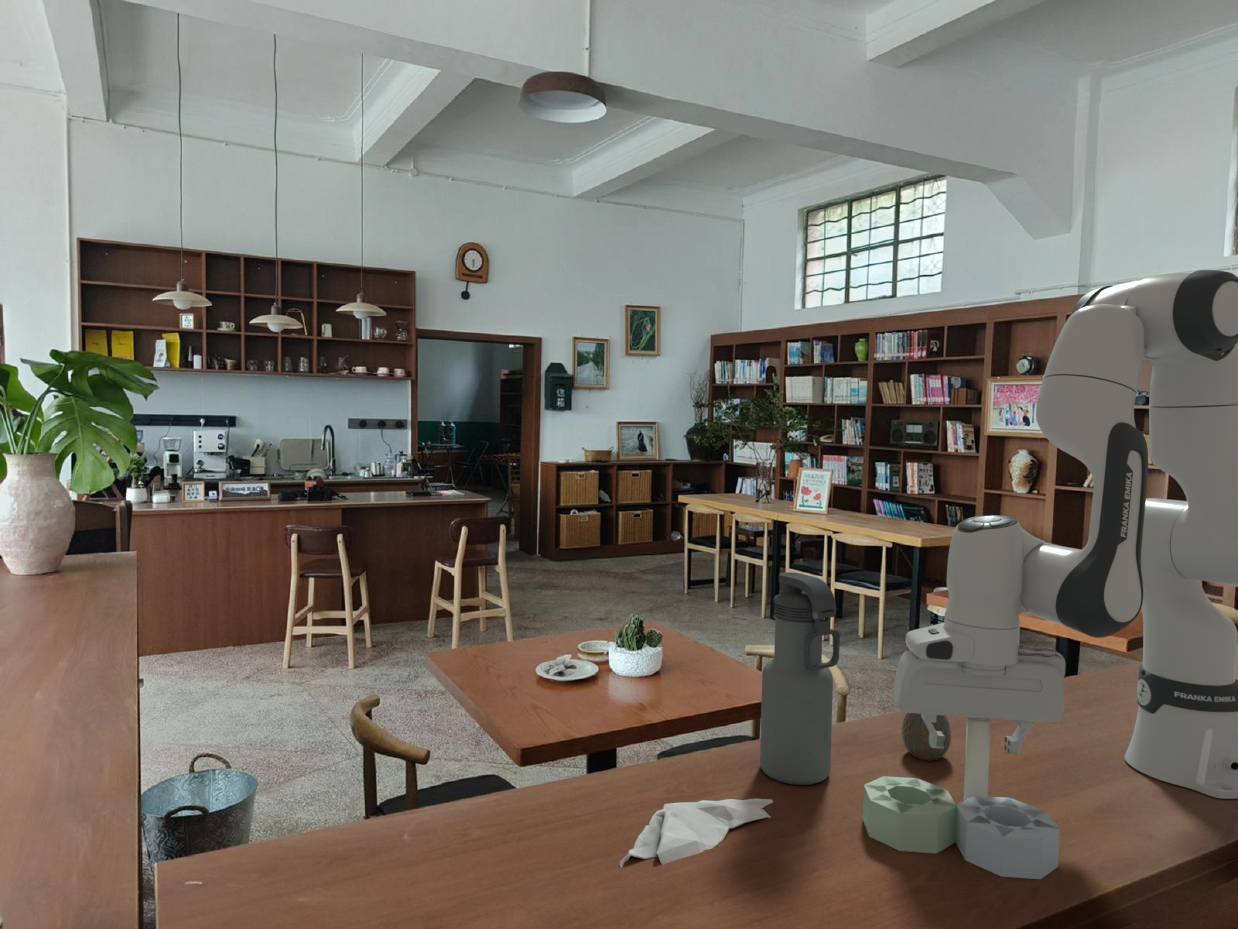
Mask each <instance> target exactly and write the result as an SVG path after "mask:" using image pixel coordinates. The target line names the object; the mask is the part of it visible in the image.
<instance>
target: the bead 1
mask: <svg viewBox="0 0 1238 929" xmlns="http://www.w3.org/2000/svg"><path fill="white" fill-rule="evenodd" d="M862 798H863V799H862V821H863V824H864V827H865V830H866V832H867V836H868V837H869V838H872V839H873V840H875V841H878V842H880V843H882V844H884V845H886V846H888V847H890V848H893V849H895V850H896V851H899V852H906V853H907V852H909V853H922V854H935V855H936V854H938V853H940V852H942V851H943V850H945V849H947V848H949V847H951V846H952V845H953V844H956V843H955V841H956V816H957V805H958V804H957V803H956V802H955V800H954V799H953V798H952V795H951V794H950V792H949V791H948V789H945V788H942V787H940V786H939V785H938V786H937V785H935V784H932V783H929V782H927V781H925V780H922V779H921V778H917V777H901V776H880V777H878V778H877V779H874V780H871V781H870V782H868V783H865V784H864V785H863V797H862Z"/></svg>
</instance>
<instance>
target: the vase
mask: <svg viewBox="0 0 1238 929" xmlns="http://www.w3.org/2000/svg"><path fill="white" fill-rule="evenodd" d="M932 724H933V726H934V728H935V730H936V731H941V732H942V734H943V735H944V736H945V739H944V742H943V744H944V748H931V746H930V745H929V730H928V728H927V727H926V725H925V723H924V721H923V719H922V717H921V714H918V713H906V712H905V715H904V717H903V721H902V725H901V737H902V741H903V744H904V746H905V749H906V750H907V751H908V752H909V753H910V754H911V755H912V756H913V757H914V758H917V759H919V760H921V761H929V762H930V761H931V762H932V761H938V760H940V759H941V758H942V757H943V756H945V755H946V753H947V752H948V750H949V748H950V745H951V741H952V729H951V724H950V721H949V719H948V716H946V715H937V720H936V723H934V722H932Z"/></svg>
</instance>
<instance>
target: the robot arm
mask: <svg viewBox="0 0 1238 929" xmlns="http://www.w3.org/2000/svg"><path fill="white" fill-rule="evenodd" d="M1070 314H1071V315H1070V316H1068V318H1067V320H1065V323H1064V325H1063V327H1062V329H1061V331H1060V333H1059V335H1058V337H1057V340H1056V341H1055V343H1054V346H1053V349H1052V351H1051V354H1050V356H1049V358H1048V362H1047V364H1046V368H1045V371H1044V374H1043V377H1042V381H1041V384H1040V388H1039V392H1038V395H1037V400H1036V404H1035V405H1036V407H1035V418H1036V419H1035V420H1036V423H1037V425H1038V427H1039V430H1040V431H1041V433H1042V434H1043V436H1044V437H1045V438H1046V439H1047V440H1048V441H1049V442H1050V443H1051V444H1052V445H1054V447H1056V448H1057V449H1059V450H1060V451H1062V452H1064V453H1066V454H1068V455H1069V456H1072V457H1074V458H1075V459H1077V460H1078V461H1080V462H1081V463H1082V464H1084V465H1085V467H1086V468H1087V469H1088V471H1089V472H1090V475H1091V477H1092V482H1093V490H1092V492H1093V493H1092V500H1091V510H1090V511H1091V512H1090V522H1089V528H1088V529H1089V531H1088V540H1087V543H1086V545H1085V546H1084V547H1083V548H1082V549H1079V548H1074V547H1070V546H1069V547H1067V546H1062V545H1058V544H1055V543H1051V542H1046V541H1044V540H1043V539H1040V538H1038V537H1035V536H1034V535H1032V534H1030V533H1029V532H1028V531H1026V529H1024V528H1023V527H1022V526H1021V524H1020V522H1019V520H1017V519H1016V518H1013V517H1010V516H1007V515H1006V516H1005V515H998V514H995V515H993V514H991V515H977V516H972V517H968V518H965V519H963V520H962V521H960V522H959V523H958V524H957V525H956V527H955V528H954V531H953V533H952V537H951V541H950V545H949V549H948V556H947V557H948V558H947V566H946V588H947V591H948V602H947V605H946V606H947V607H946V609H945V611H944V620H943V621H944V622H941V623H936V624H933V625H930V626H924V627H921V628H917V629H913V630H910V631H907V633H906V634H905V644H906V647H907V648H908V650H906V651H904V652H903V653H902V655H900V658H899V660H898V663H897V667H896V672H895V677H894V685H893V686H894V687H893V700H894V702H895V703H896V705H897V706H898V708H899V709H900V710H901V711H902V712H904V713H905V714H906V713H918V714H921V717H922V719H923V721H924V723H925V725H926V727H927V728H928V730H929V745H930V746H931V748H944V744H943V742H944V739H945V736H944V735H943V734H942V732H941V731H936V730H935V728H934V726H933V724H932V722H934V723H936V720H937V715H946V717H948V716H949V717H962V718H967V717H975V718H989V719H990V720H992V719H993V720H1005V721H1014V723H1015V724H1016V725H1017V727H1016V729H1015V730H1014V732H1013V733H1012V734H1011V735H1005V736H1004V742H1005V743H1004V750H1005V752H1007V754H1010V755H1021V754H1022V750H1023V749H1022V747H1023V743H1024V741H1025V740H1026V739H1027V737H1028V736H1029V735H1030V734H1031V732H1032V730H1033V726H1034V725H1033V723H1034V722H1035V723H1048V724H1057V723H1059V722H1060V721H1061V720H1062V719H1063V718H1064V716H1065V696H1064V695H1065V694H1064V686H1063V680H1064V677H1065V675H1066V660H1065V658H1064V656H1063V655H1062V654H1061V653H1060V652H1058V651H1057V650H1056V651H1055V649H1054V648H1052V647H1049V646H1048V647H1047V646H1043V647H1037V646H1036V647H1035V646H1030V645H1020V632H1021V631H1020V629H1021V620H1020V614H1022V613H1025V614H1028V615H1032V616H1033V617H1036V618H1039V619H1043V620H1046V621H1050V622H1053V623H1057V624H1059V625H1062V626H1063V625H1064V626H1065V627H1067V628H1070V629H1072V630H1074V631H1077V632H1080V633H1082V634H1084V635H1087V636H1088V637H1092V638H1095V639H1096V638H1097V639H1103V638H1107V637H1110V636H1112V635H1115V634H1117V633H1119V632H1121V631H1122V630H1124V629H1125V628H1127V627H1128V626H1130V625H1131V624H1132V622H1134V621H1135V620H1136V618H1137V617H1138V615H1139V614H1140V612H1141V616H1142V629H1143V631H1142V632H1143V638H1142V639H1143V644H1142V646H1143V647H1142V648H1143V649H1142V652H1143V653H1142V664H1141V665H1140V666H1138V676H1137V677H1138V678H1137V688H1136V697H1137V705H1138V710H1137V715H1136V719H1135V720H1136V721H1135V725H1134V728H1133V731H1132V732H1133V733H1132V736H1131V739H1130V742H1129V744H1128V747H1127V749H1126V752H1125V753H1124V760H1125V761H1126V763H1127V764H1128V765H1130V767H1132V768H1134V769H1135V770H1136V771H1139V772H1141V773H1142V774H1145V775H1147V776H1149V777H1150V778H1151V777H1152V778H1154V779H1156V780H1159V781H1163V782H1166V783H1169V784H1172V785H1176V786H1181V787H1184V788H1188V789H1190V790H1191V789H1192V790H1193V791H1196V792H1199V793H1201V794H1204V795H1207V796H1210V797H1213V798H1217V799H1222V800H1223V799H1226V800H1227V799H1231V800H1232V799H1238V679H1237V678H1236V674H1237V661H1238V660H1237V659H1238V658H1237V656H1238V629H1237V626H1236V625H1235V622H1234V621H1233V619H1232V618H1231V617H1230V616H1229V615H1228V614H1227V613H1226V612H1224V611H1222V610H1221V609H1220V608H1218V607H1217V606H1216V605H1215V604H1214V603H1213V602H1212V601H1211V600H1210V598H1209V597H1208V596H1207V594H1206V592H1205V590H1204V588H1203V585H1202V582H1201V581H1203V582H1208V583H1212V584H1213V583H1214V584H1220V585H1224V586H1225V585H1226V586H1231V587H1237V588H1238V277H1237V275H1235V274H1234V273H1232V272H1230V271H1224V270H1215V269H1200V270H1199V269H1198V270H1195V271H1193V272H1182V273H1181V272H1180V273H1179V272H1177V273H1176V272H1175V273H1167V274H1165V273H1164V274H1157V275H1151V276H1147V277H1145V278H1141V279H1137V280H1132V281H1128V282H1124V283H1120V284H1117V285H1105V286H1102V287H1100V288H1096V289H1094V290H1092V291H1089V292H1087V293H1086V294H1084V295H1083V296H1082V297H1080V299H1078V301H1077V303H1076V304H1075V306H1074V307H1073V310H1072V311H1071V313H1070ZM1144 360H1149V361H1150V362H1151V364H1152V370H1151V374H1150V383H1149V385H1150V386H1149V394H1148V395H1149V401H1148V402H1149V404H1148V407H1149V408H1148V412H1149V413H1148V415H1149V416H1148V417H1149V418H1148V419H1149V420H1148V423H1149V424H1148V425H1149V426H1148V427H1149V428H1148V430H1149V432H1148V434H1149V435H1148V436H1149V437H1148V440H1149V441H1148V442H1149V443H1147V439H1146V437H1145V435H1144V434H1143V433H1142V431H1141V430H1140V429H1138V428H1137V427H1136V421H1135V403H1136V399H1137V394H1138V389H1139V387H1140V382H1141V375H1142V371H1143V362H1144ZM1148 444H1149V446H1148ZM1148 447H1149V448H1148ZM1149 456H1150V459H1151V461H1152V463H1153V464H1154V465H1155V466H1156V467H1157V468H1158V469H1159V470H1161V471H1162V472H1163V473H1165V474H1167V475H1169V476H1170V477H1171V478H1173V480H1175V481H1176V482H1177V484H1178V485H1179V486H1180V487H1181V489H1182V491H1183V493H1184V495H1185V498H1186V500H1177V499H1167V498H1166V499H1165V498H1157V497H1149V498H1147V492H1148V491H1147V490H1148V479H1149V478H1148V476H1149Z"/></svg>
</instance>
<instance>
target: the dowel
mask: <svg viewBox="0 0 1238 929" xmlns="http://www.w3.org/2000/svg"><path fill="white" fill-rule="evenodd" d="M991 721H992V719H989V718H975V717H966V732H965V733H966V734H965V753H964V755H965V756H964V782H963V783H964V784H963V801H965V800H967V799H969V798H971V797H973V796H988V794H989V771H990V769H989V768H990V747H991V723H992V722H991Z"/></svg>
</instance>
